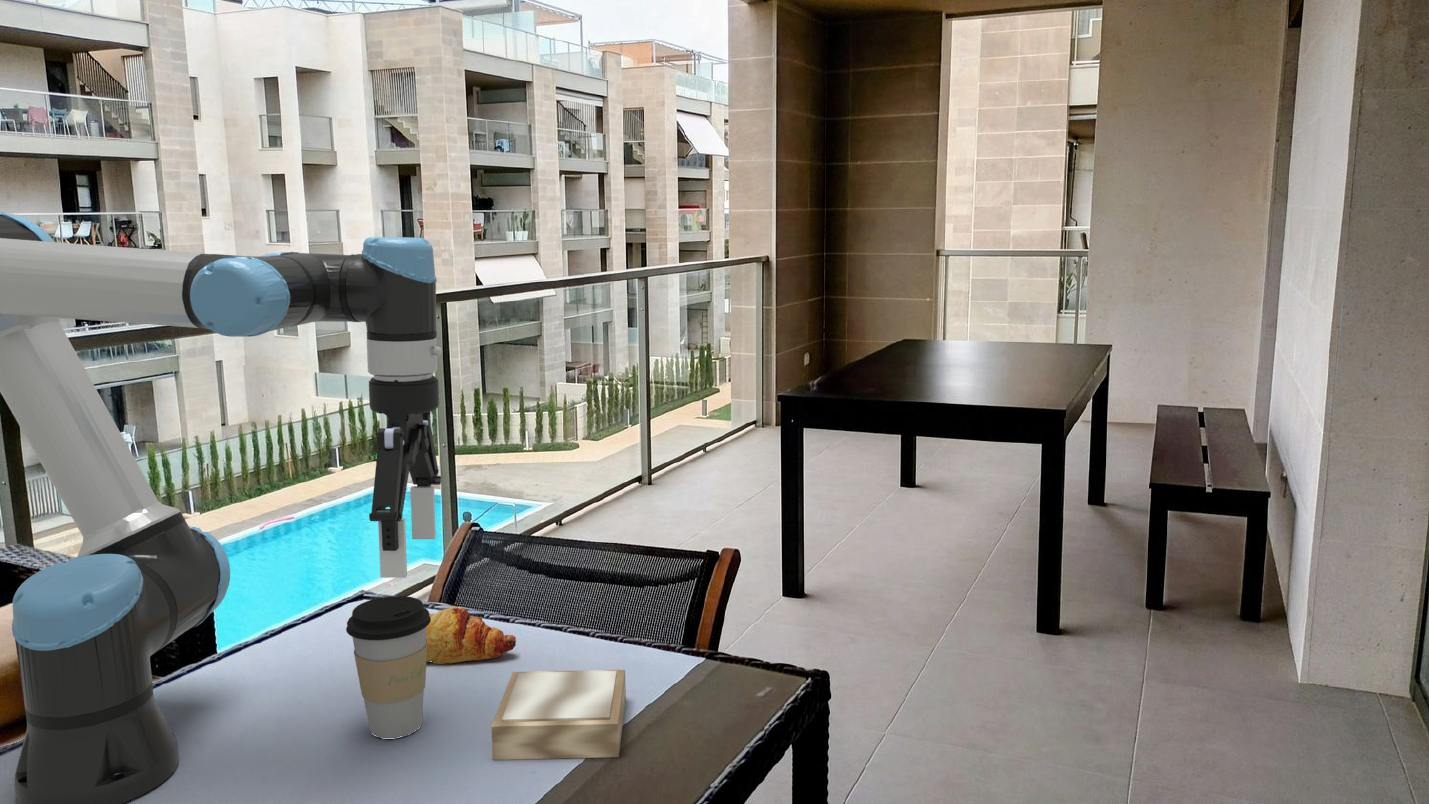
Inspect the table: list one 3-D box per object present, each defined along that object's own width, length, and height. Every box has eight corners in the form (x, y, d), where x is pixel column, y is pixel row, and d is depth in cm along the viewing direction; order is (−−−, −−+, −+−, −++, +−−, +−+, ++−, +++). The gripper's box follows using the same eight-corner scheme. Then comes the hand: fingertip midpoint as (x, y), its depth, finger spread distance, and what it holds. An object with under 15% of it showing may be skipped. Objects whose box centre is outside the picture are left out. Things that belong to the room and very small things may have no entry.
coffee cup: (413, 751, 115) (404, 626, 112) (337, 743, 117) (328, 620, 114) (450, 712, 124) (443, 596, 121) (380, 705, 126) (372, 591, 123)
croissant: (369, 677, 142) (350, 640, 137) (399, 621, 150) (382, 584, 145) (510, 687, 137) (495, 649, 132) (533, 629, 145) (520, 591, 140)
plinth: (493, 759, 113) (491, 724, 112) (513, 701, 126) (512, 669, 126) (618, 757, 113) (617, 721, 112) (625, 699, 127) (625, 667, 126)
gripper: (408, 394, 101) (415, 595, 105) (460, 361, 126) (464, 525, 130) (333, 393, 101) (342, 595, 105) (399, 360, 126) (405, 524, 129)
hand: (409, 556), depth 117 cm, fingers open, 13 cm apart
